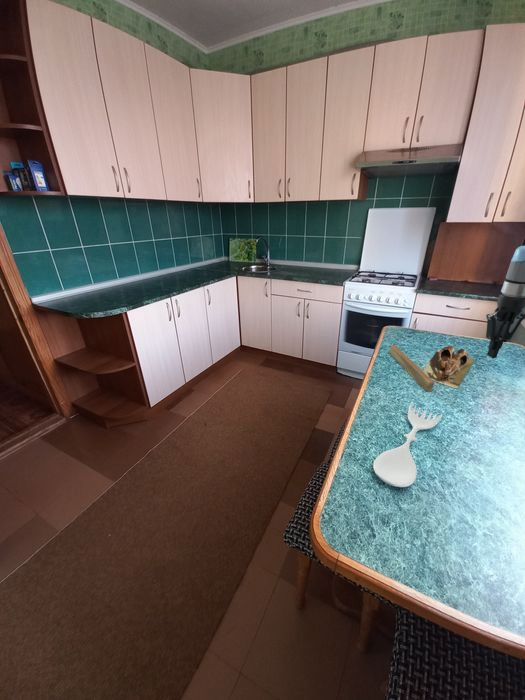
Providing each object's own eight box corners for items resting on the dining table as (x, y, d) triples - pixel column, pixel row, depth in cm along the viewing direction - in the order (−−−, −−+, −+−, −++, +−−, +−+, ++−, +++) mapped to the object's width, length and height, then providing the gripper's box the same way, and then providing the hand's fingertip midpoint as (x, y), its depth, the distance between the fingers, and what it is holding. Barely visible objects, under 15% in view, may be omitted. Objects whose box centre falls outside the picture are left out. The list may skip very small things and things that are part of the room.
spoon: (441, 422, 83) (444, 413, 82) (406, 501, 62) (409, 490, 60) (408, 409, 89) (410, 400, 87) (365, 478, 67) (367, 467, 66)
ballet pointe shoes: (480, 345, 113) (468, 374, 94) (474, 359, 116) (462, 391, 97) (441, 335, 120) (423, 360, 102) (437, 349, 124) (418, 376, 105)
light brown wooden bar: (393, 352, 122) (395, 344, 120) (431, 391, 97) (434, 382, 95) (389, 352, 122) (390, 345, 120) (426, 391, 97) (428, 382, 95)
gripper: (523, 290, 101) (500, 351, 112) (487, 292, 101) (467, 352, 111) (543, 296, 94) (516, 360, 105) (504, 298, 94) (481, 362, 104)
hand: (491, 356), depth 108 cm, fingers closed
